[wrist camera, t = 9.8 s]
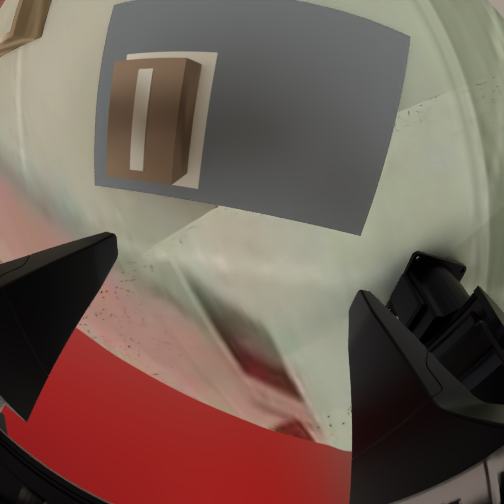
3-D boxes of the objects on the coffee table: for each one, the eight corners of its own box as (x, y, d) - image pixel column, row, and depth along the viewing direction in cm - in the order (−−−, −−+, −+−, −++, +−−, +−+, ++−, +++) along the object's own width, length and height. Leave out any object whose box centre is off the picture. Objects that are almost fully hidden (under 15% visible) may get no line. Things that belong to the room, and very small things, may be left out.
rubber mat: (407, 37, 12) (411, 36, 11) (358, 233, 20) (360, 236, 20) (117, 6, 12) (113, 4, 12) (98, 183, 20) (94, 185, 20)
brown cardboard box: (187, 173, 19) (170, 185, 16) (128, 165, 19) (105, 176, 16) (201, 64, 15) (186, 57, 12) (137, 64, 15) (114, 61, 12)
